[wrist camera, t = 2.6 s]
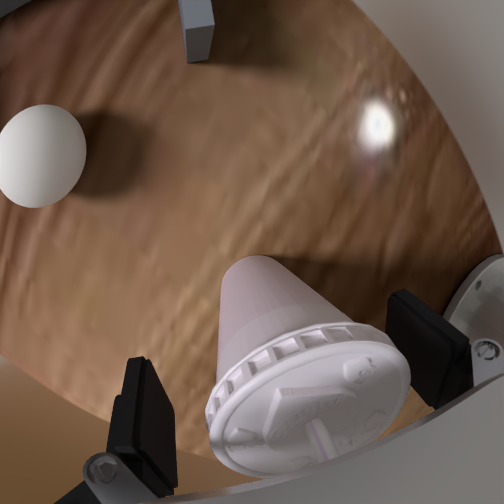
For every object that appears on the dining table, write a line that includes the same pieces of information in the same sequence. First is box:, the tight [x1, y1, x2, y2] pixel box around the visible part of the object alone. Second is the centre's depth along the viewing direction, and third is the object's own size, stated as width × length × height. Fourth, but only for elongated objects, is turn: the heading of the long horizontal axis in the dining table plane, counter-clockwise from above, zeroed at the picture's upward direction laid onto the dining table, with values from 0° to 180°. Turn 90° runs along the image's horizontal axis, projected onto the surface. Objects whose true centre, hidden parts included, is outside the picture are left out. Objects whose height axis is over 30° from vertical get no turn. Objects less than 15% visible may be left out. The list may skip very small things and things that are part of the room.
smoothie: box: [205, 255, 411, 478], centre depth 10 cm, size 6×6×14 cm
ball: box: [0, 105, 86, 208], centre depth 10 cm, size 4×4×4 cm
